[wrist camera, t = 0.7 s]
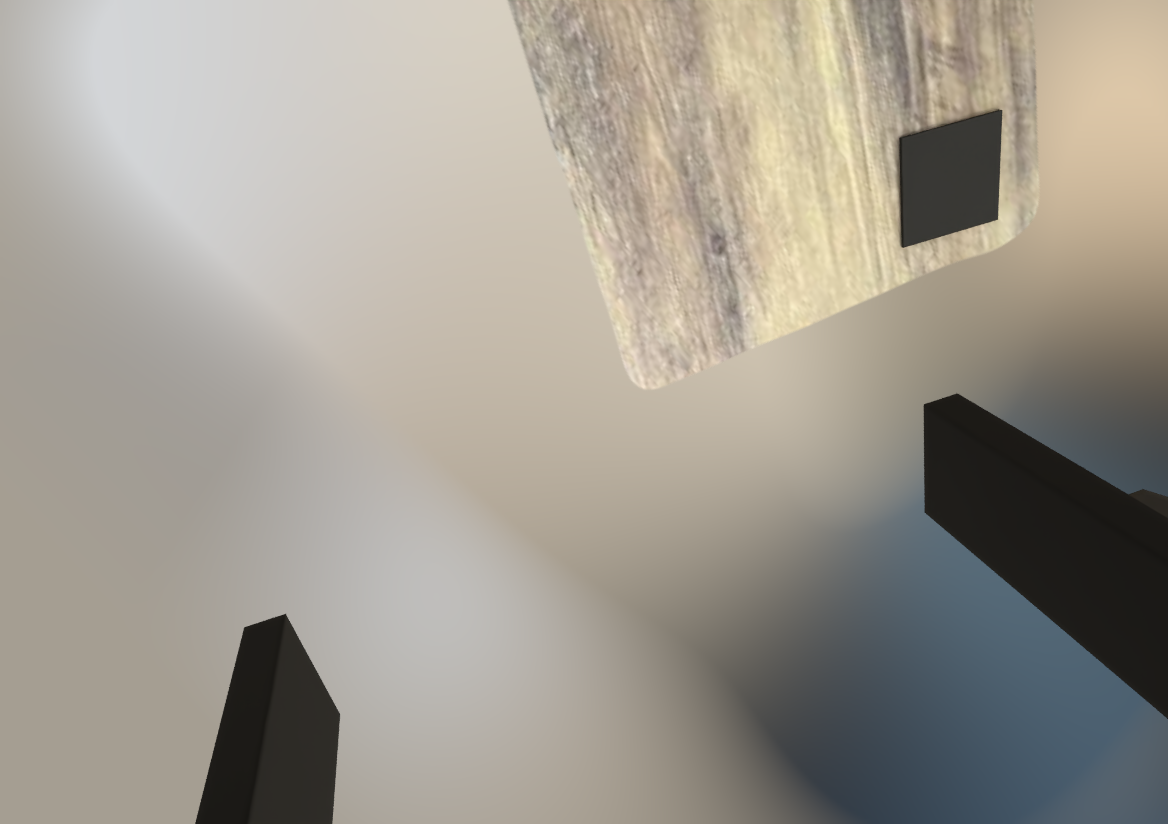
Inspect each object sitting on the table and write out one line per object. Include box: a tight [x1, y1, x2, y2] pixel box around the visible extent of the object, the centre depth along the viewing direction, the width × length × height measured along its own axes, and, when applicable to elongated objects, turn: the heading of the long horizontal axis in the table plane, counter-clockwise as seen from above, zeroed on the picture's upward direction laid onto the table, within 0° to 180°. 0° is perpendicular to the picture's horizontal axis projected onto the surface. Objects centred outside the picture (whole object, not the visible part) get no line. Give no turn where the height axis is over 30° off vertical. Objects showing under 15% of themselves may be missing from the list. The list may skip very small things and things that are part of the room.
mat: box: [900, 110, 1002, 248], centre depth 69 cm, size 10×10×1 cm
